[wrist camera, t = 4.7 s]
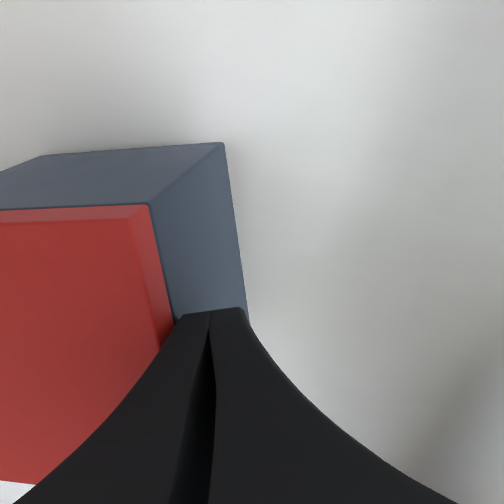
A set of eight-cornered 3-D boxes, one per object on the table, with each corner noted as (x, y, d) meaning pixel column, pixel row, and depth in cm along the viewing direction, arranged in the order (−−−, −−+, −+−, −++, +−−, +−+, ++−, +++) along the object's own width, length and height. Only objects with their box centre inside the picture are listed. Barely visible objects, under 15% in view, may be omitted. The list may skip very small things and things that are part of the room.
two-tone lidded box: (253, 347, 16) (197, 506, 11) (96, 342, 18) (-20, 479, 12) (224, 140, 13) (128, 218, 8) (39, 154, 15) (-145, 228, 9)
